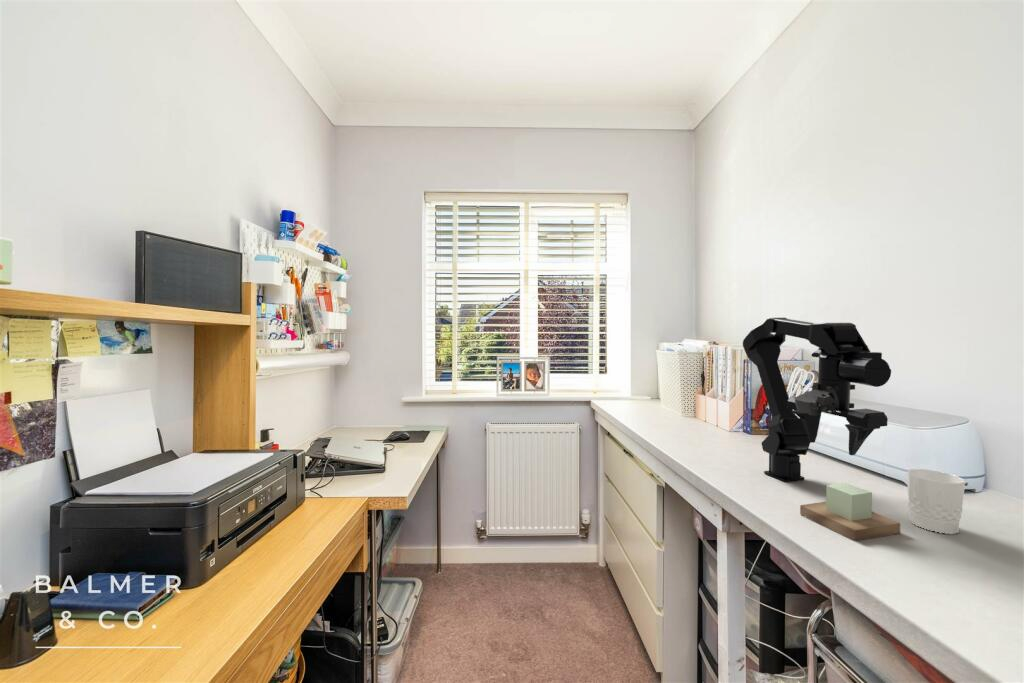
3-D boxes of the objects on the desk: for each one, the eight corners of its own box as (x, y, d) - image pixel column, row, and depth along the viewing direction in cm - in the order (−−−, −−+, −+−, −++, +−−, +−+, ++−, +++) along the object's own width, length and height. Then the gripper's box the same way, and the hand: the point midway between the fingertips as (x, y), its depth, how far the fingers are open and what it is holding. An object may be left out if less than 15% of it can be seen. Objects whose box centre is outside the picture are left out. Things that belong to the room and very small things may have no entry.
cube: (826, 509, 85) (826, 485, 84) (845, 507, 86) (845, 483, 86) (851, 521, 80) (851, 495, 80) (871, 517, 81) (872, 492, 81)
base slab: (800, 514, 87) (800, 505, 87) (841, 508, 90) (841, 499, 90) (854, 541, 76) (855, 530, 76) (900, 533, 79) (900, 523, 79)
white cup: (945, 539, 77) (947, 485, 76) (895, 519, 84) (897, 471, 84) (973, 533, 79) (975, 480, 79) (923, 514, 86) (924, 467, 86)
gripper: (769, 374, 100) (766, 439, 101) (847, 387, 82) (843, 466, 83) (807, 373, 102) (804, 435, 103) (891, 385, 84) (887, 461, 85)
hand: (831, 448), depth 94 cm, fingers open, 9 cm apart
